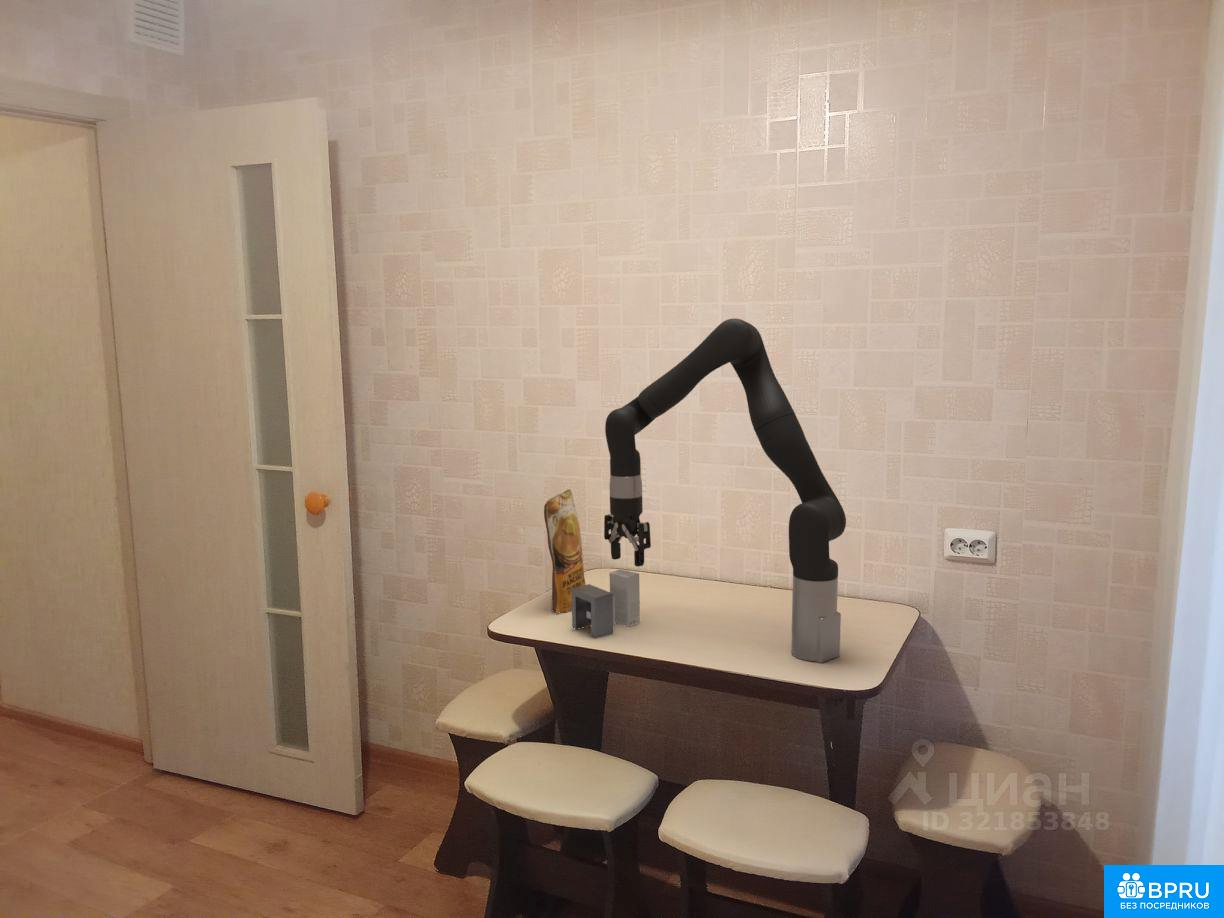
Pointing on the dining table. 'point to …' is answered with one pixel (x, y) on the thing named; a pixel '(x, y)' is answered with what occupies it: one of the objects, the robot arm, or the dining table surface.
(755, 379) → the robot arm
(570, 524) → the pancake mix bag
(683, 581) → the dining table surface
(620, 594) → the skincare box
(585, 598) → the grey hollow block
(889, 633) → the dining table surface
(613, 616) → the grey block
